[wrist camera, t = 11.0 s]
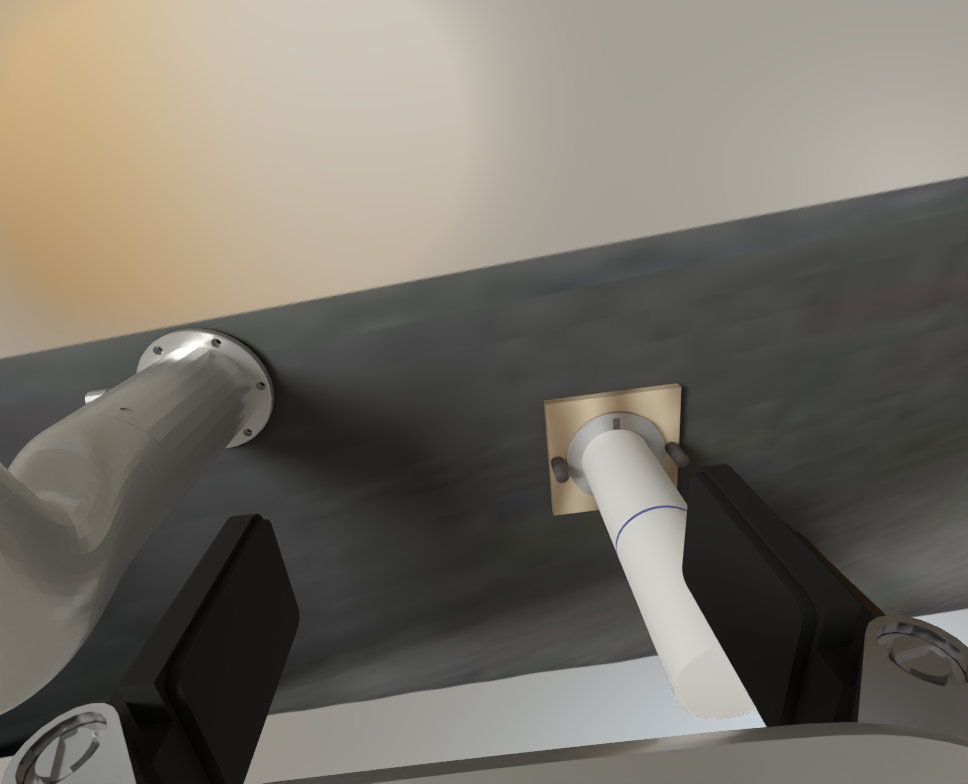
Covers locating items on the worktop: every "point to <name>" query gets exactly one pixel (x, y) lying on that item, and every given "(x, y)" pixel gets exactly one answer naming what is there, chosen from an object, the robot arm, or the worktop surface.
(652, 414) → the locking base
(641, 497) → the cylindrical container
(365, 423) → the worktop surface
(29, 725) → the worktop surface
